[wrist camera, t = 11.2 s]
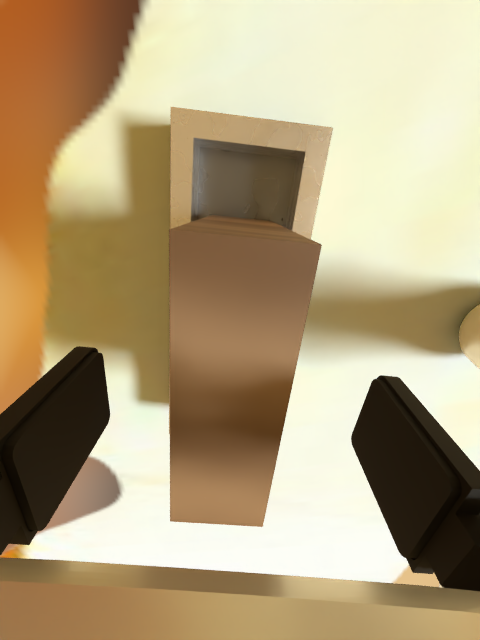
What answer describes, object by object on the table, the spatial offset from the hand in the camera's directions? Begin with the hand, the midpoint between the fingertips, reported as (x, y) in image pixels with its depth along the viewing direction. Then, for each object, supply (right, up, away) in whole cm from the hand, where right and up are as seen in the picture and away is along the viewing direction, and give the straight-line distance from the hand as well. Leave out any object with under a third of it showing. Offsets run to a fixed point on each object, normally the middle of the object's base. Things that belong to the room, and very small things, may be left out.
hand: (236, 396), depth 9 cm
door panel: (0, +4, +11) cm, 12 cm away
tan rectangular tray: (0, +4, +12) cm, 13 cm away
